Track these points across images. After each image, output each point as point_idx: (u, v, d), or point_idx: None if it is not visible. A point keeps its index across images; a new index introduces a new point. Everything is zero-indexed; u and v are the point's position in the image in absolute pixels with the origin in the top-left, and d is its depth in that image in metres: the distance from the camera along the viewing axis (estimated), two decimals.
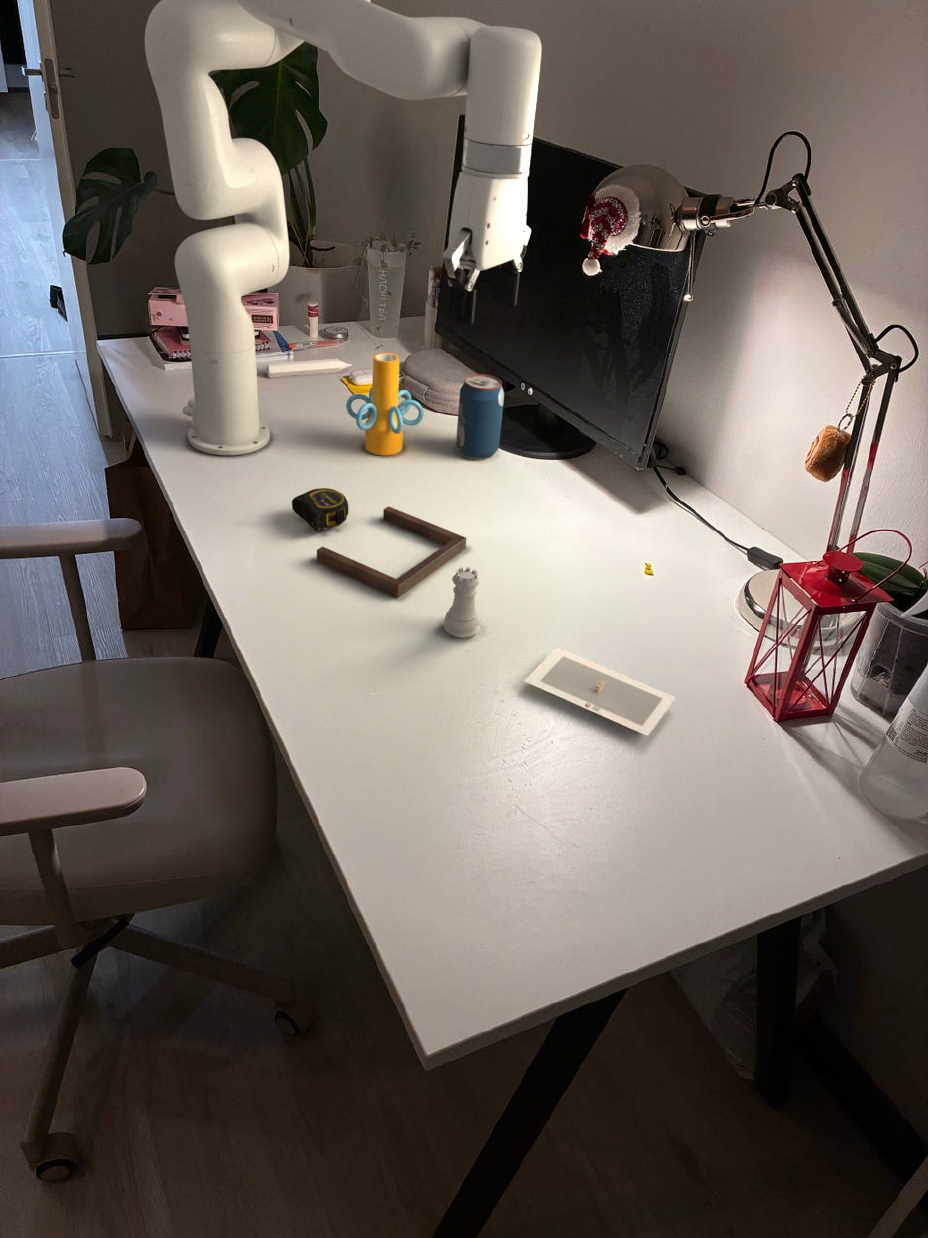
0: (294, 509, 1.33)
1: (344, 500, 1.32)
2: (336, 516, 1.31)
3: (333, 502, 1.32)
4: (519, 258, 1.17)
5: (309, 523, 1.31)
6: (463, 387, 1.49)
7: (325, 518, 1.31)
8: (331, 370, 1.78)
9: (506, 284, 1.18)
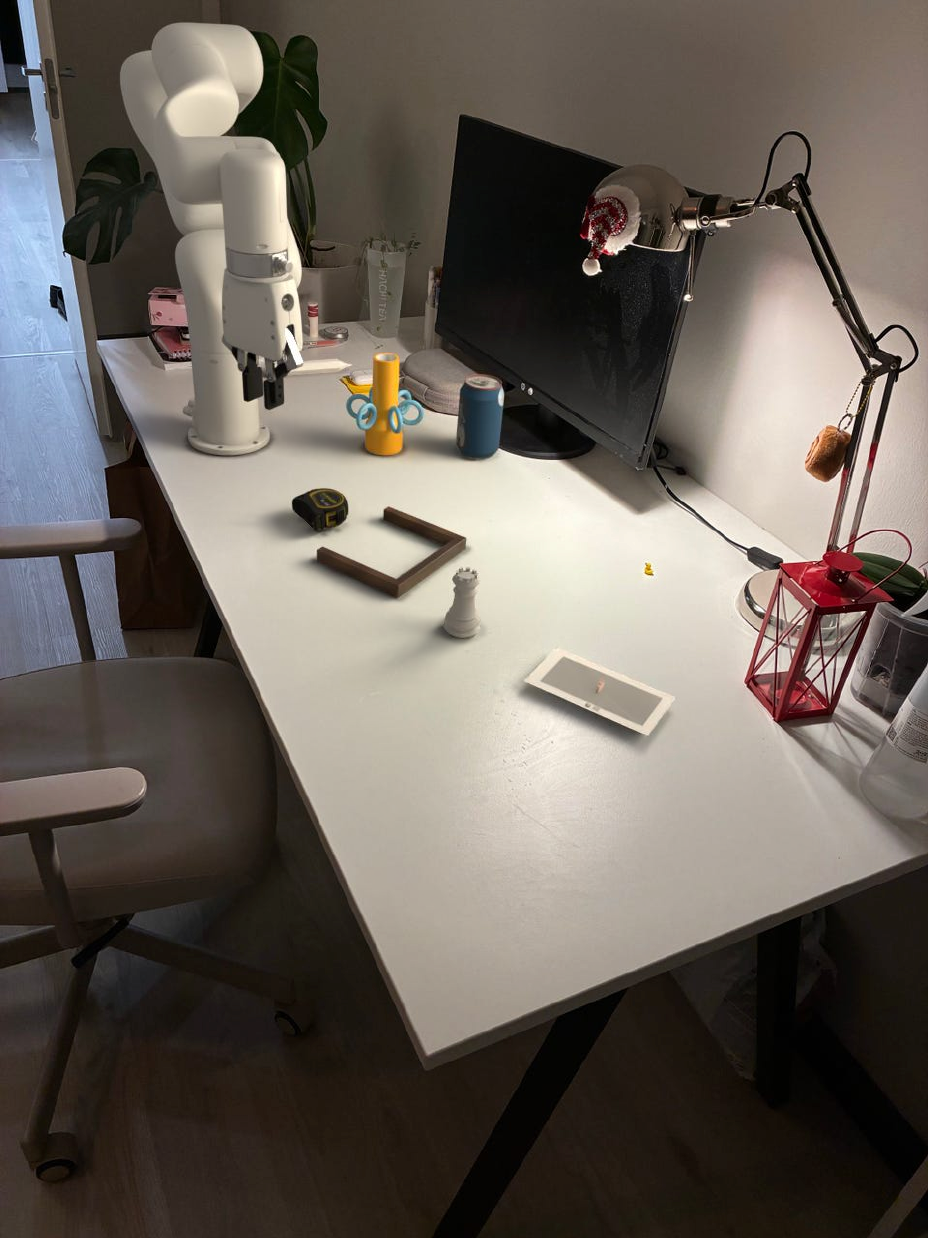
0: (294, 509, 1.33)
1: (344, 500, 1.32)
2: (336, 516, 1.31)
3: (333, 502, 1.32)
4: (267, 369, 1.24)
5: (309, 523, 1.31)
6: (463, 387, 1.49)
7: (325, 518, 1.31)
8: (331, 370, 1.78)
9: None
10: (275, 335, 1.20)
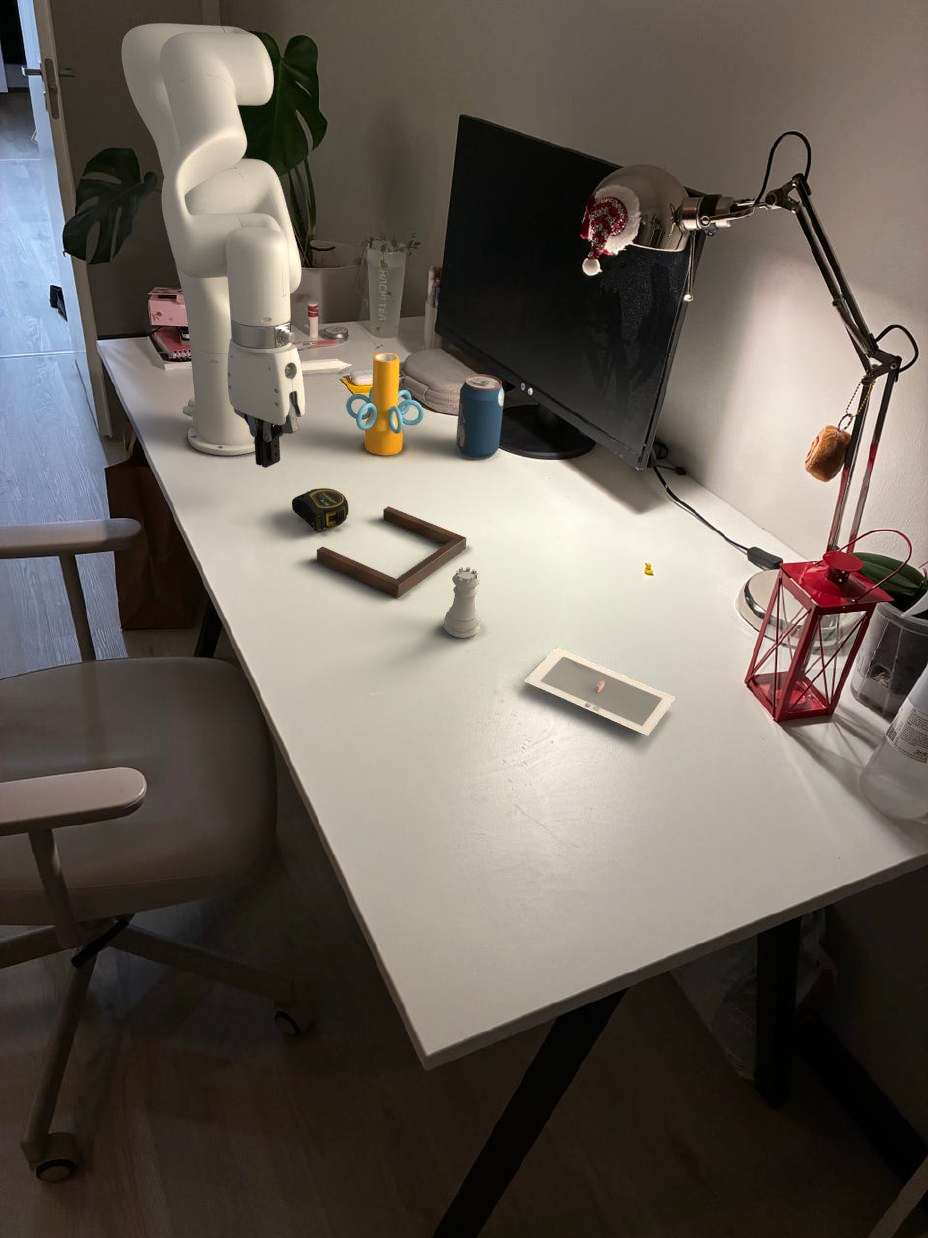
0: (294, 509, 1.33)
1: (344, 500, 1.32)
2: (336, 516, 1.31)
3: (333, 502, 1.32)
4: (263, 429, 1.29)
5: (309, 523, 1.31)
6: (463, 387, 1.49)
7: (325, 518, 1.31)
8: (331, 370, 1.78)
9: None
10: (279, 402, 1.24)
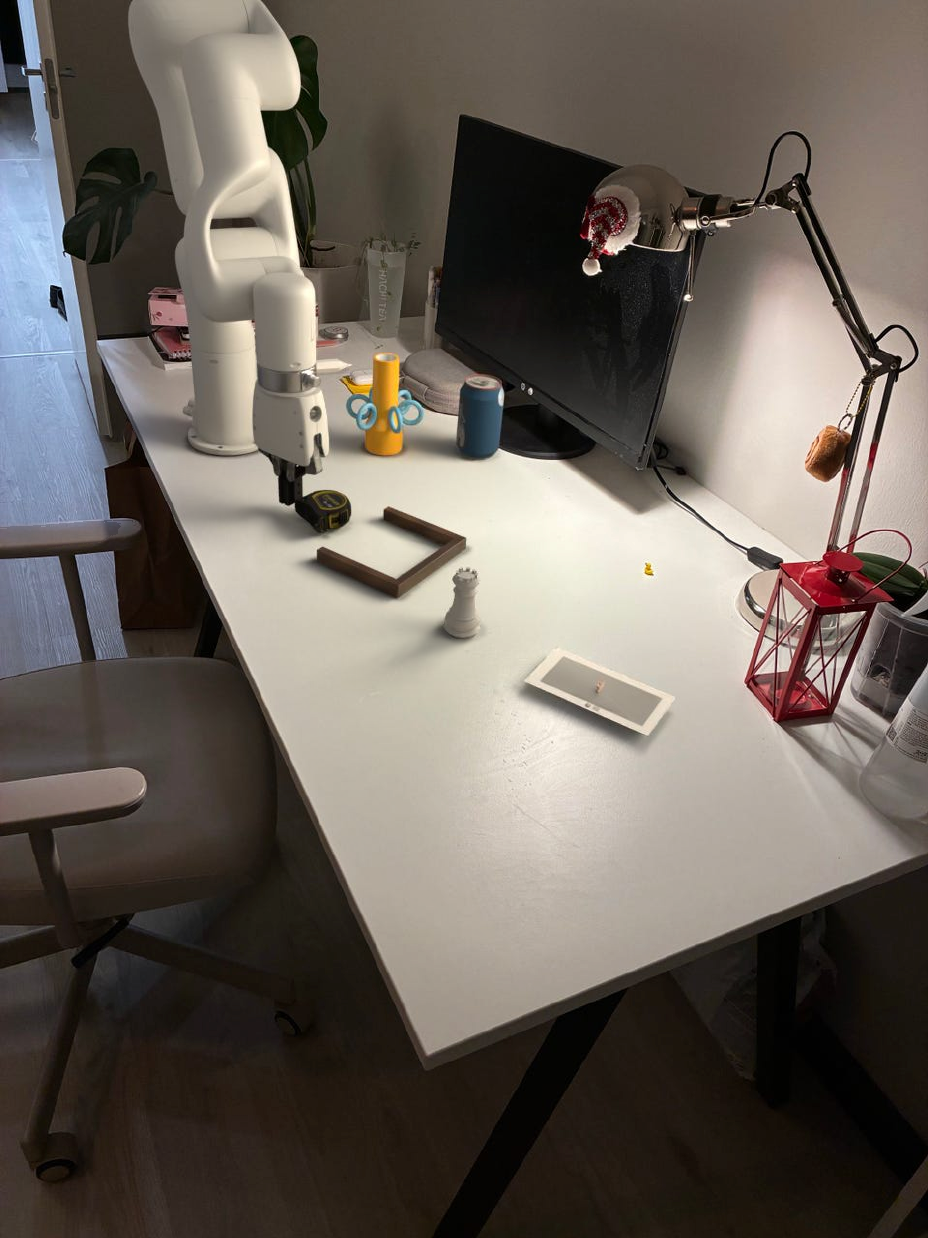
0: (297, 511, 1.33)
1: (347, 502, 1.32)
2: (339, 517, 1.31)
3: (335, 504, 1.32)
4: (287, 469, 1.30)
5: (312, 525, 1.31)
6: (463, 387, 1.49)
7: (328, 520, 1.30)
8: (331, 370, 1.78)
9: None
10: (303, 444, 1.25)
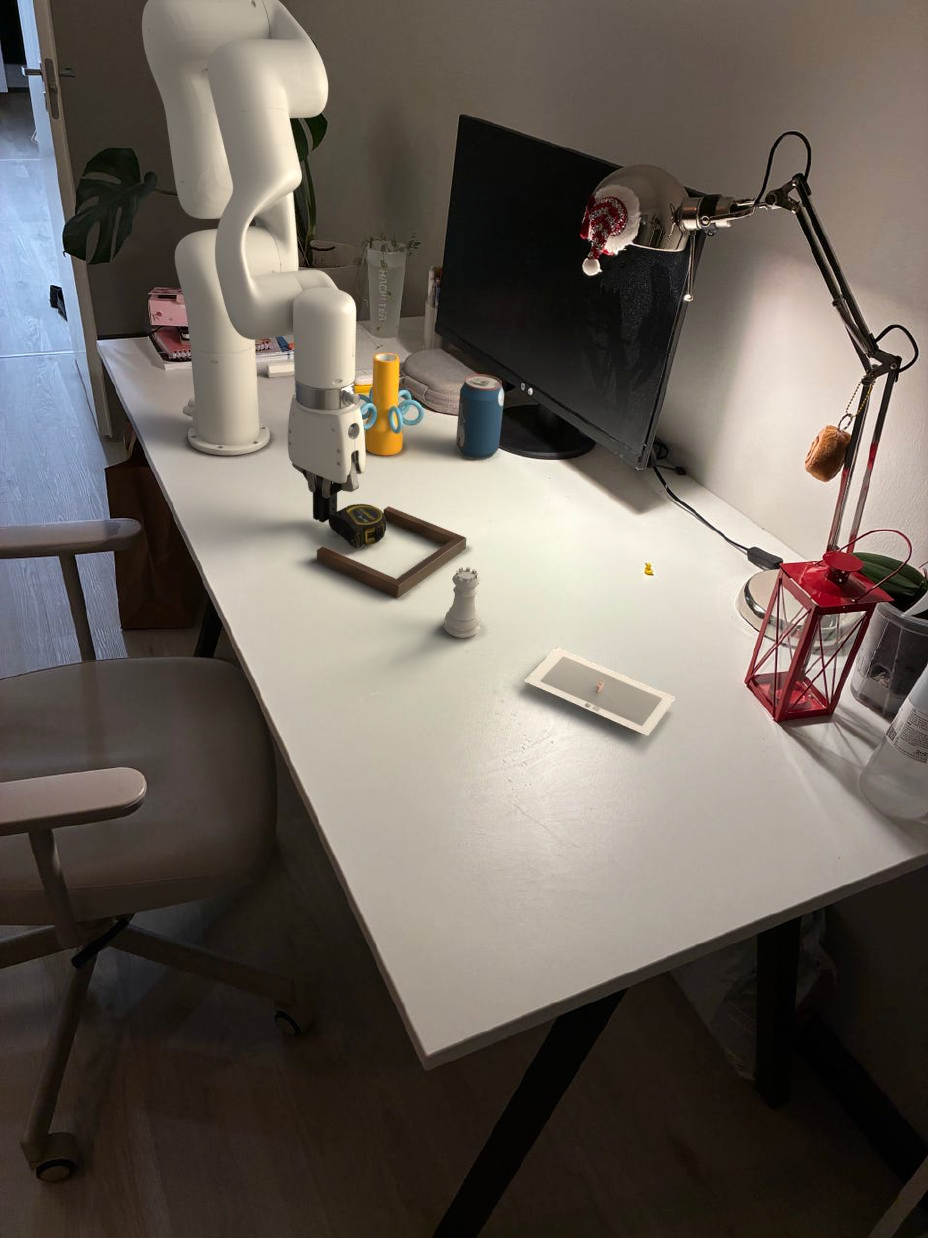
0: (331, 526, 1.30)
1: (382, 516, 1.30)
2: (375, 532, 1.29)
3: (371, 518, 1.29)
4: (322, 486, 1.28)
5: (348, 540, 1.28)
6: (463, 387, 1.49)
7: (364, 535, 1.28)
8: None
9: None
10: (341, 462, 1.23)
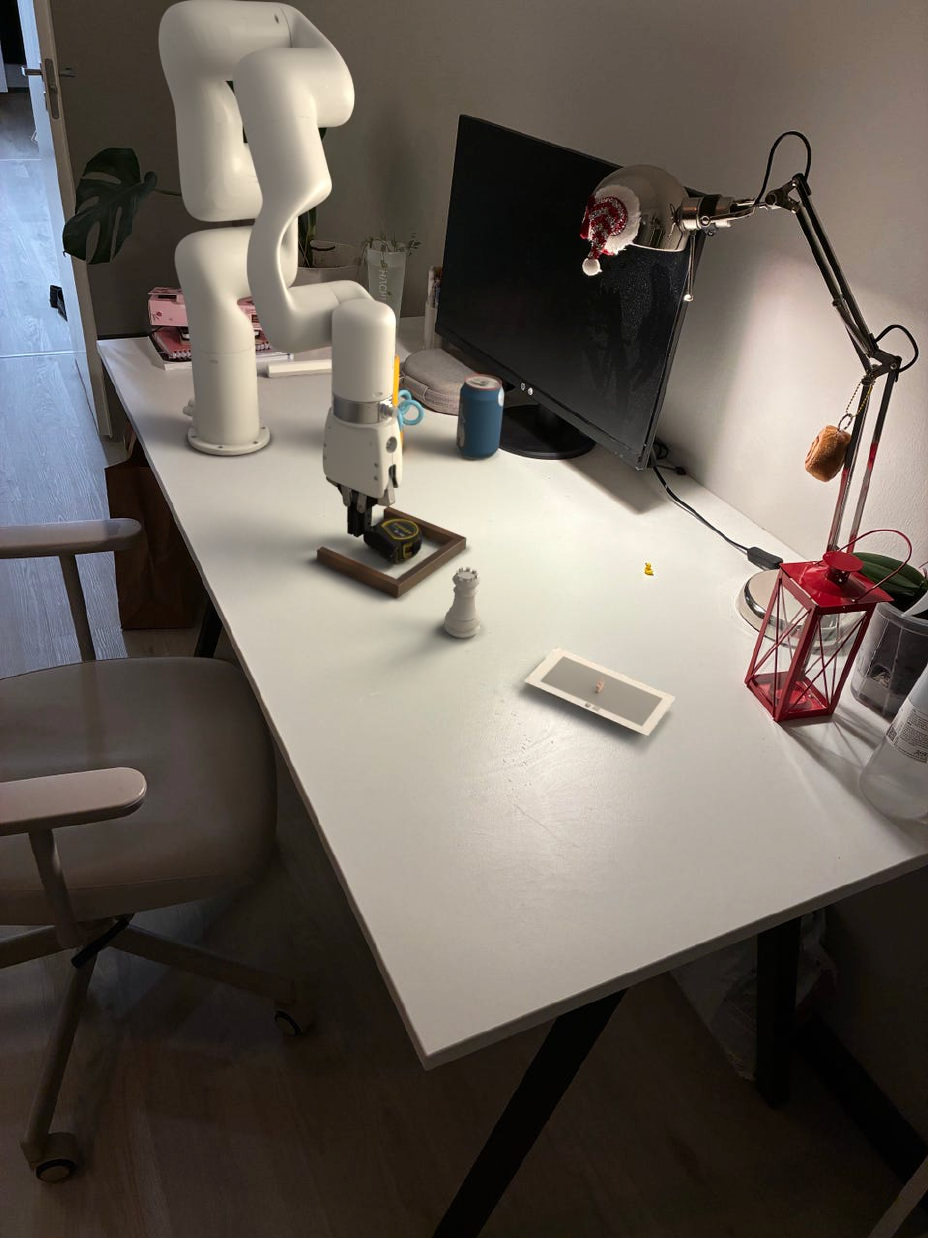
0: (366, 541, 1.28)
1: (419, 530, 1.27)
2: (413, 547, 1.26)
3: (408, 532, 1.27)
4: (358, 500, 1.26)
5: (385, 556, 1.26)
6: (463, 387, 1.49)
7: (402, 550, 1.25)
8: (331, 370, 1.78)
9: None
10: (378, 476, 1.21)
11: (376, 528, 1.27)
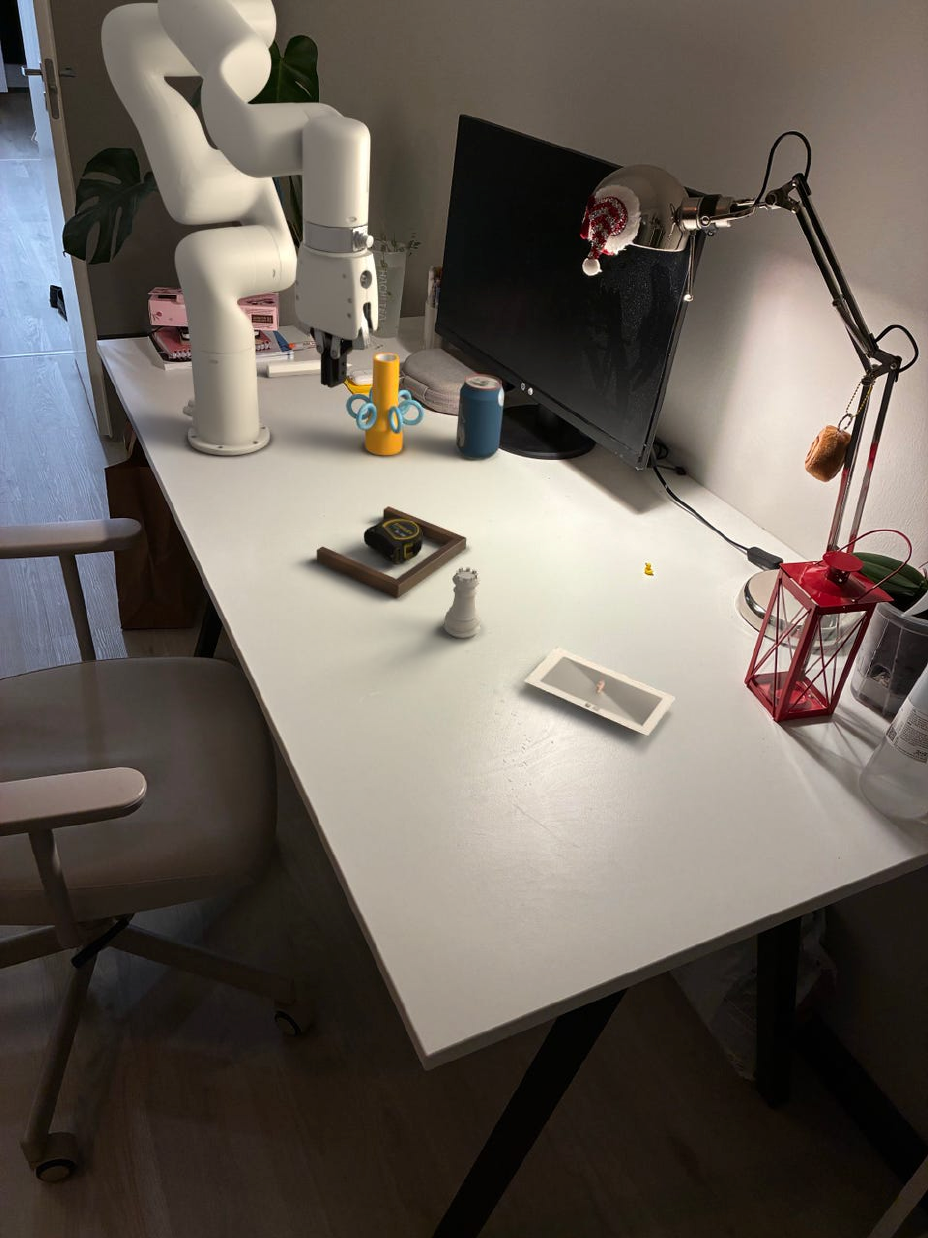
0: (367, 541, 1.28)
1: (419, 530, 1.27)
2: (413, 547, 1.26)
3: (408, 532, 1.27)
4: (331, 345, 1.20)
5: (386, 556, 1.26)
6: (463, 387, 1.49)
7: (403, 550, 1.25)
8: None
9: None
10: (352, 313, 1.15)
11: (377, 528, 1.27)
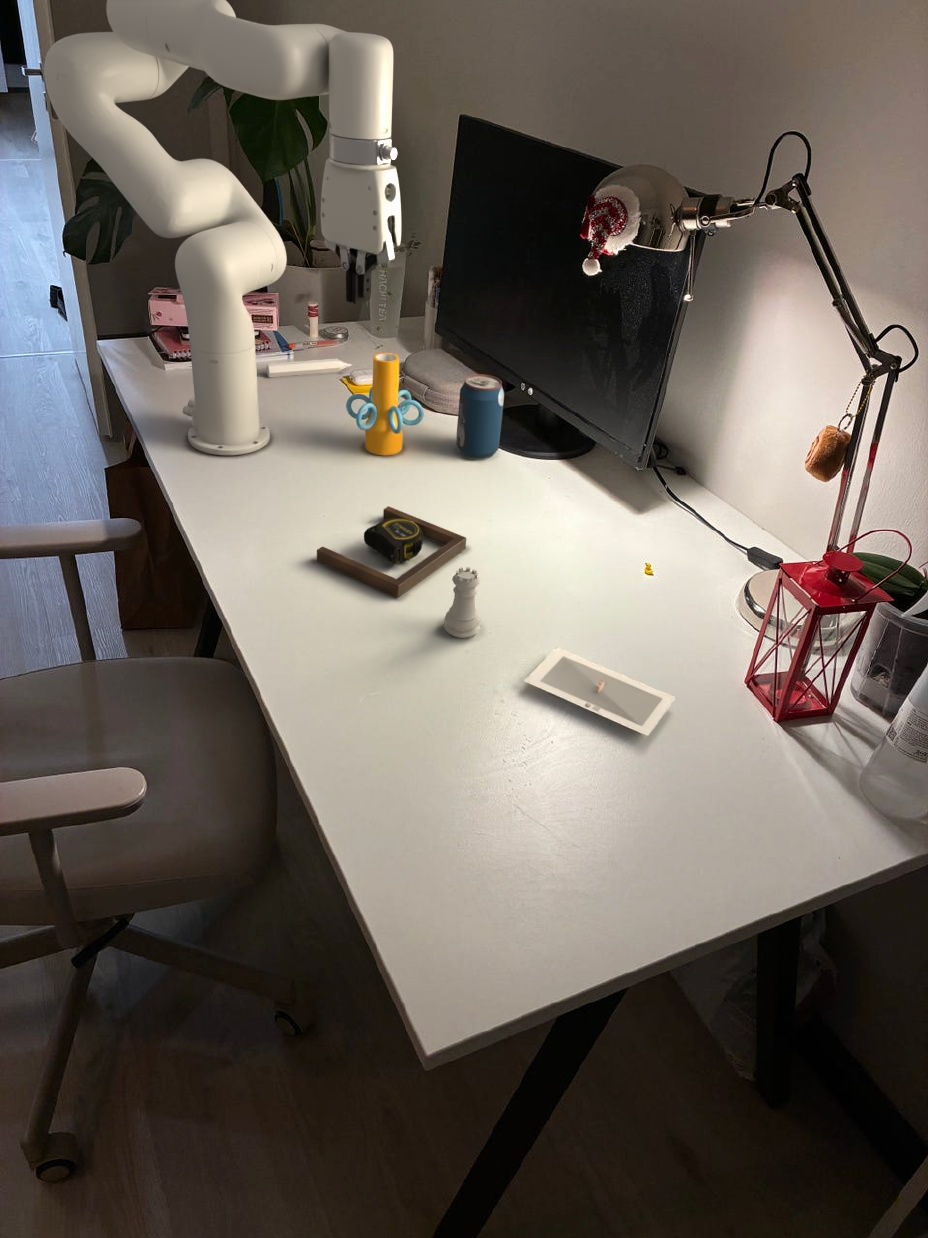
0: (367, 541, 1.28)
1: (420, 530, 1.27)
2: (413, 547, 1.26)
3: (408, 532, 1.27)
4: (357, 260, 1.25)
5: (386, 556, 1.26)
6: (463, 387, 1.49)
7: (403, 550, 1.25)
8: (331, 370, 1.78)
9: None
10: (377, 225, 1.20)
11: (377, 528, 1.27)
